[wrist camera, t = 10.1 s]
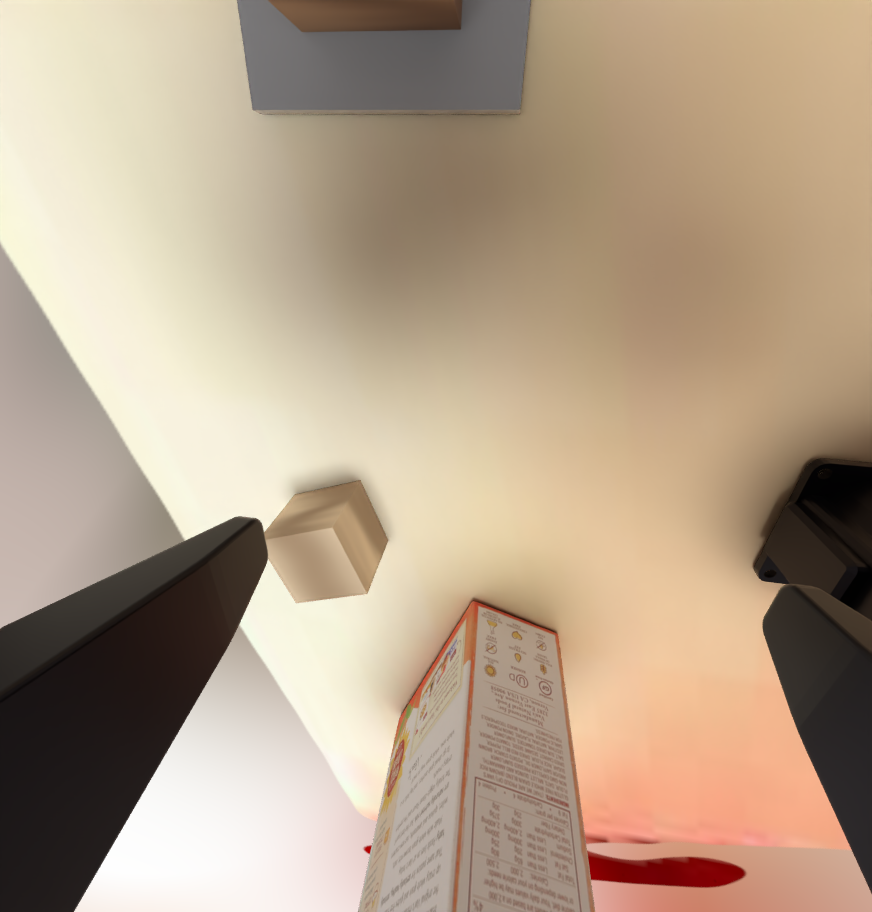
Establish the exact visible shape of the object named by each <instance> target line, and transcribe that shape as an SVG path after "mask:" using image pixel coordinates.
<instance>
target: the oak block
mask: <svg viewBox="0 0 872 912" xmlns="http://www.w3.org/2000/svg"><path fill="white" fill-rule="evenodd" d="M264 535H265V540H266V545H267V549H268V559H269V561H270V562H271V564H272V566H273V567H274V569H275V570H276V572H277V574H278V575H279V577H280V578H281V580H282V581H283V583H284V585H285V586H286V588H287V589H288V591H289V593H290V594H291V596H292V597H293V599H294V601H295V602H296V603H301V602H308V601H316V600H324V599H332V598H339V597H347V596H355V595H363V594H367V593H368V591H369V588H370V586H371V583H372V581H373V578H374V575H375V573H376V570H377V568H378V565H379V563H380V560H381V558H382V555H383V553H384V550H385V548H386V545H387V542H388V539H387V537H386V534H385V532H384V530H383V528H382V526H381V524H380V521H379V519H378V517H377V515H376V513H375V511H374V509H373V506H372V504H371V502H370V500H369V498H368V496H367V493H366V491H365V489H364V487H363V485H362V483H361V481H355V482H350V483H346V484H341V485H337V486H332V487H327V488H323V489H318V490H314V491H309V492H304V493H300V494H295V495H294V496H293V498H292V499H291V500H290V501H289V503H288V504H287V505H286V506H285V508H284V509H283V510H282V511H281V512H280V514H279V515H278V516H277V517H276V519H275V520H274V521H273V522H272V524H271V525H270V526H269V527H268V529H267V530H266V531H265V532H264Z"/></svg>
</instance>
